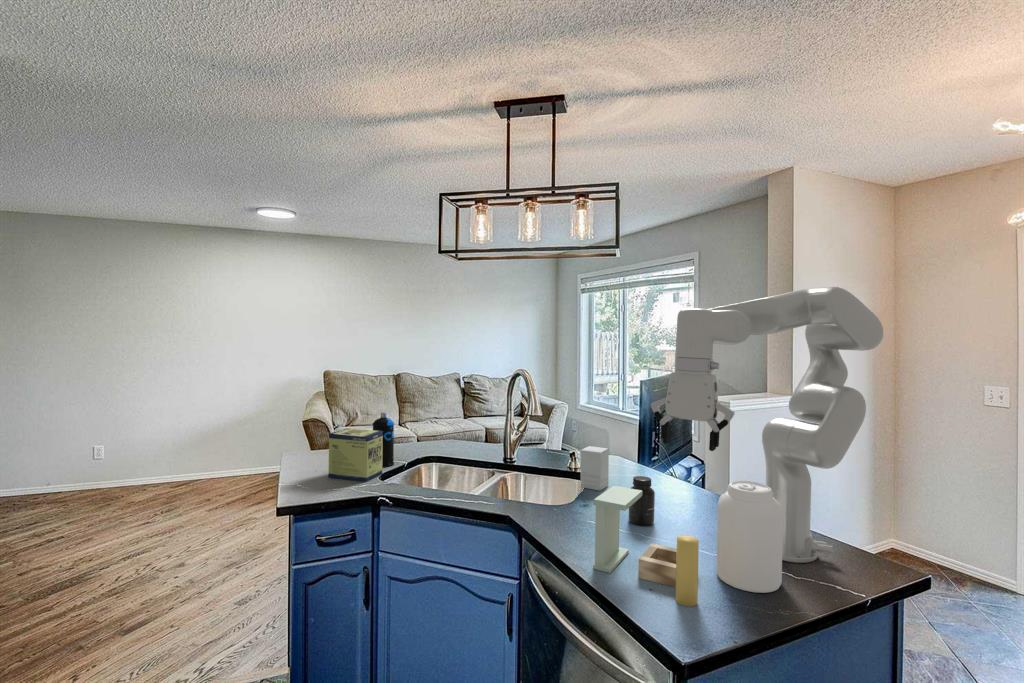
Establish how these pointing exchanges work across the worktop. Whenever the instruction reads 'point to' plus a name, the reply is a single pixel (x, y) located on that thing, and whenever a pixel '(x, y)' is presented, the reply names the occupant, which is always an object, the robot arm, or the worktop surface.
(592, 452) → the supplement box
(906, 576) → the worktop surface
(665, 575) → the socket block
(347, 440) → the protein box
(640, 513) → the supplement bottle
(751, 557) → the can
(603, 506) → the pale green stand
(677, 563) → the peg
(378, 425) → the black bottle
